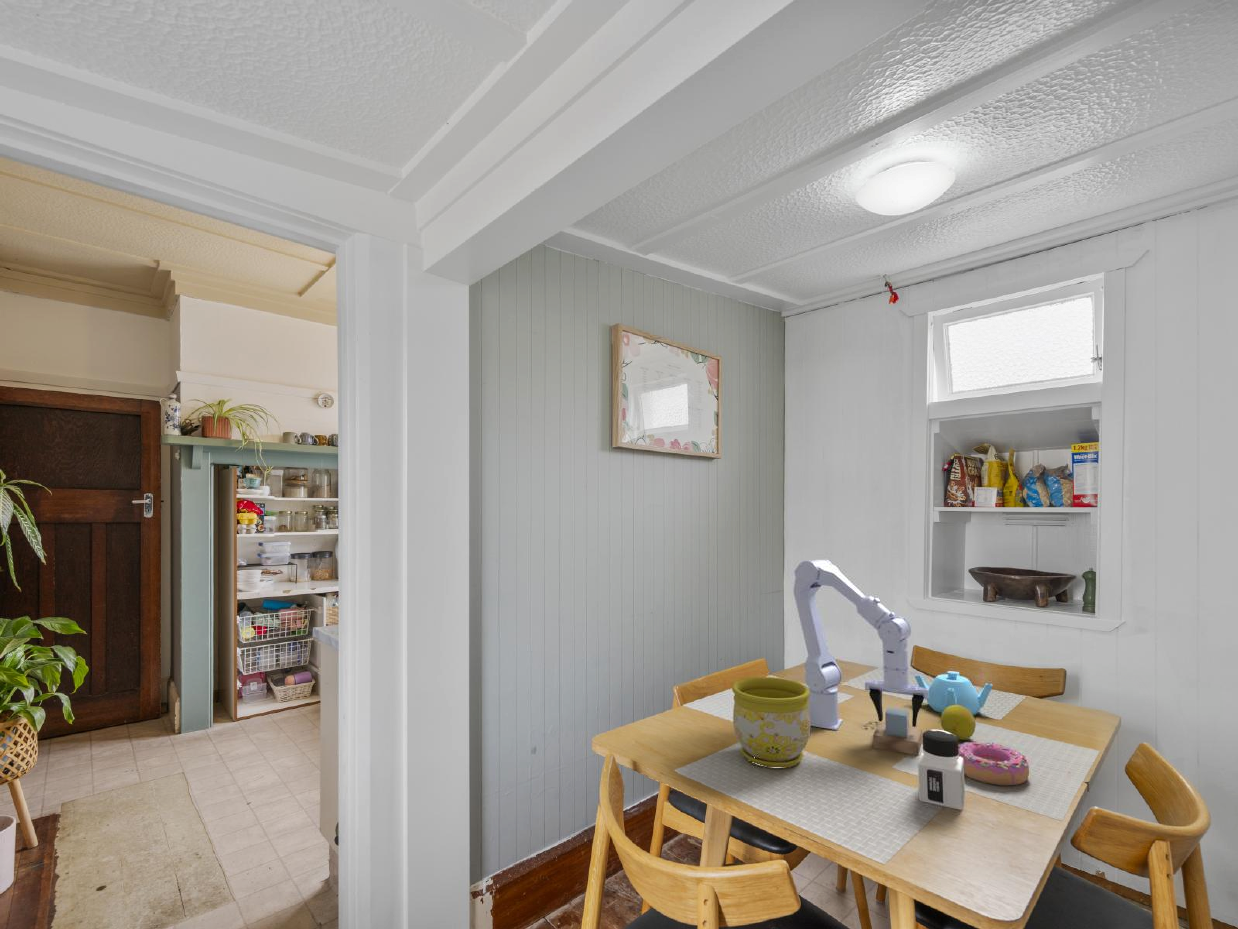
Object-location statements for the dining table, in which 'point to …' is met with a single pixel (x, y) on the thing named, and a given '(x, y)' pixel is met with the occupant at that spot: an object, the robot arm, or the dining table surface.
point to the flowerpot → (771, 720)
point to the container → (941, 770)
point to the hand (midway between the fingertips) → (897, 722)
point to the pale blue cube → (897, 722)
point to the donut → (993, 763)
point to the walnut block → (898, 740)
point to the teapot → (954, 692)
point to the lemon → (958, 722)
